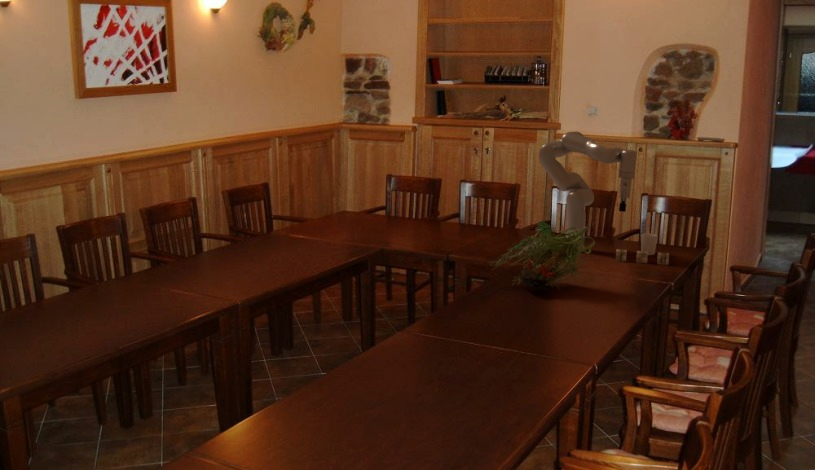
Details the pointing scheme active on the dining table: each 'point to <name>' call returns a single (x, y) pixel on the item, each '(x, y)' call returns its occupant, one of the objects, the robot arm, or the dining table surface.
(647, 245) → the white cup
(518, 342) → the dining table surface
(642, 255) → the plain maple block
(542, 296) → the dining table surface
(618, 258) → the marked block left
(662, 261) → the marked block right
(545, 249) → the plant
